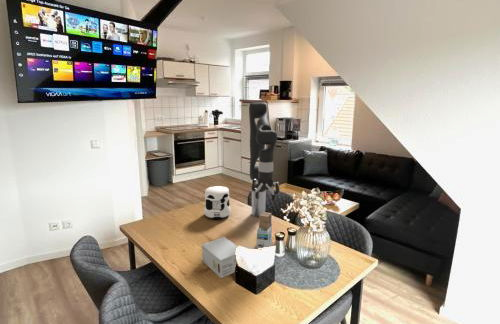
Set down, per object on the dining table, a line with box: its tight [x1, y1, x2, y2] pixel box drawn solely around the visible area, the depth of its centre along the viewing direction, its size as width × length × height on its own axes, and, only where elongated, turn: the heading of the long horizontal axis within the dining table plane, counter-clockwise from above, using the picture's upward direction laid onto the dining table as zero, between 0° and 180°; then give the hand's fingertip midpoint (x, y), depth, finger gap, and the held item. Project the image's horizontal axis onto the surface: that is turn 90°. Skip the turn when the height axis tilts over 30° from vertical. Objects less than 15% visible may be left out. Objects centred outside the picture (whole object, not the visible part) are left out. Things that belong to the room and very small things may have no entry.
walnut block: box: [258, 211, 273, 229], centre depth 153 cm, size 5×5×7 cm
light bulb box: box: [256, 222, 273, 249], centre depth 155 cm, size 11×7×11 cm, turn 168°
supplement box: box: [201, 236, 239, 279], centre depth 137 cm, size 17×13×9 cm
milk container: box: [203, 185, 232, 220], centre depth 191 cm, size 17×17×18 cm
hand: (265, 199), depth 151 cm, fingers open, 8 cm apart
